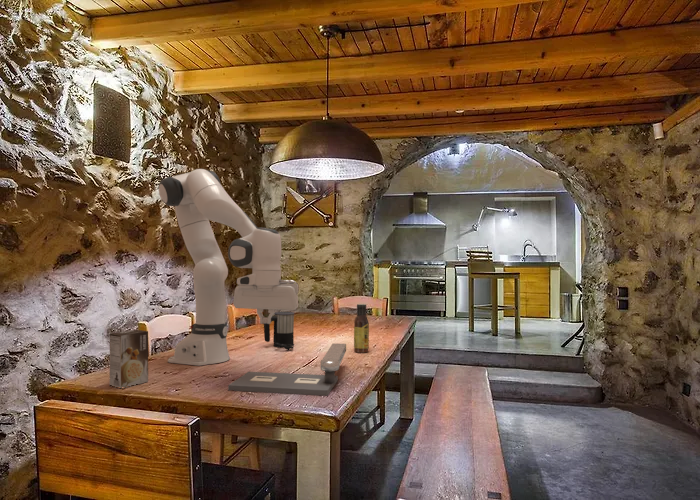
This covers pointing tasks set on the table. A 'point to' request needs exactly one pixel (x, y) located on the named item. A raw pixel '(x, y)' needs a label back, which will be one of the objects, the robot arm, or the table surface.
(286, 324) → the milk frother
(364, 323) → the sauce bottle
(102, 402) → the table surface
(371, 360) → the table surface
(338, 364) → the grey flat bar
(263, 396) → the table surface
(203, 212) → the robot arm
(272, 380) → the label board
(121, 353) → the coffee box
